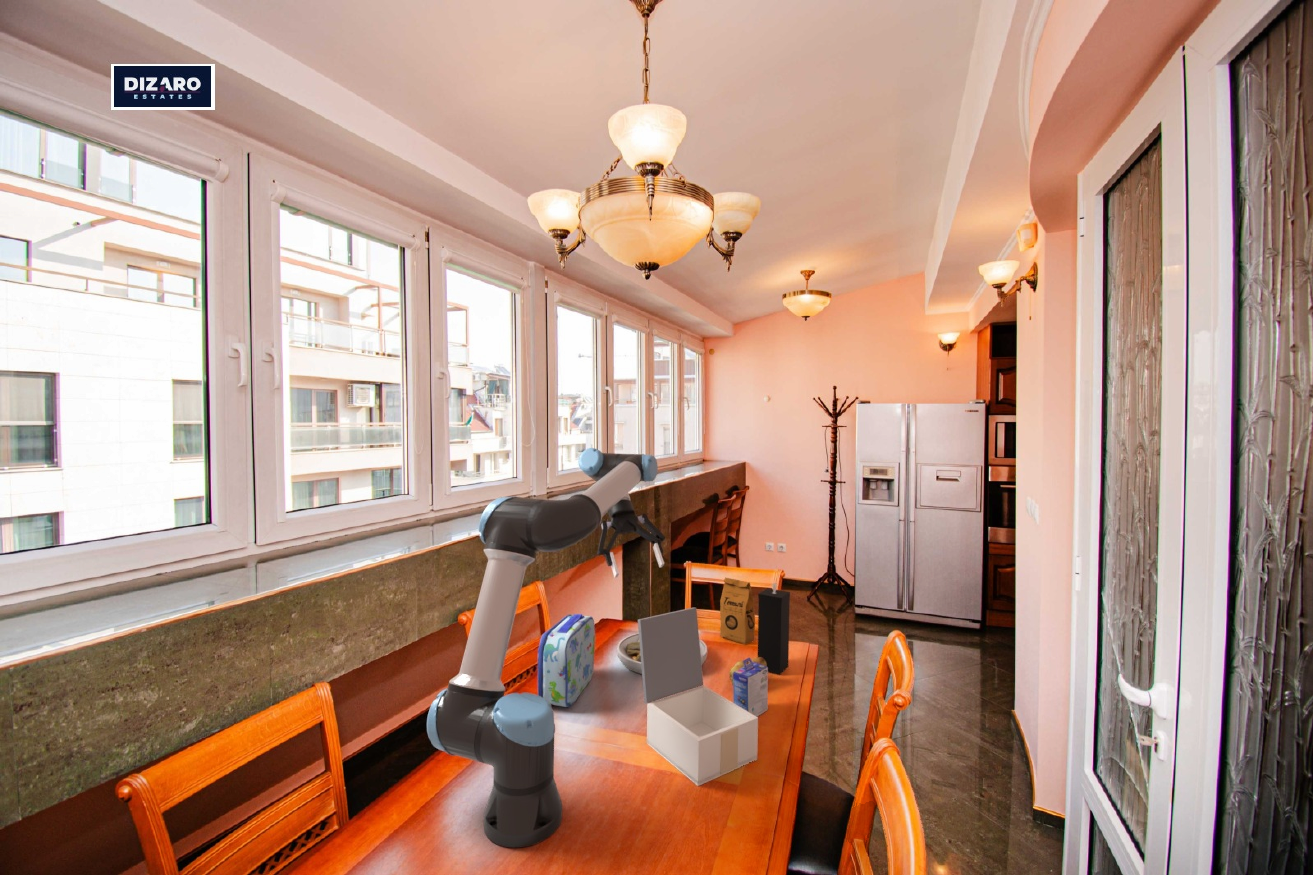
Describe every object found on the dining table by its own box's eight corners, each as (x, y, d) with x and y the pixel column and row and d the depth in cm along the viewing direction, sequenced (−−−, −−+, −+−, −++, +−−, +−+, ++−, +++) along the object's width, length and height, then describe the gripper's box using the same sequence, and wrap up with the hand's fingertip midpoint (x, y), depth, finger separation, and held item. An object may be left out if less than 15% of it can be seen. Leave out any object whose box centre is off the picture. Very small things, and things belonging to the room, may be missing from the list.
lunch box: (565, 671, 183) (566, 605, 182) (598, 674, 180) (599, 608, 180) (532, 710, 157) (532, 635, 157) (569, 715, 155) (570, 638, 154)
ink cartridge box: (751, 703, 163) (752, 652, 163) (768, 710, 159) (769, 658, 159) (731, 715, 156) (732, 663, 156) (748, 723, 152) (749, 669, 152)
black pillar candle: (788, 667, 188) (790, 582, 187) (780, 675, 181) (781, 587, 180) (766, 661, 192) (767, 578, 191) (756, 669, 185) (758, 583, 185)
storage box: (646, 743, 142) (647, 703, 141) (703, 722, 152) (703, 685, 152) (698, 786, 125) (699, 741, 125) (757, 760, 135) (758, 718, 135)
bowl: (598, 662, 190) (598, 639, 190) (657, 637, 213) (657, 616, 213) (668, 691, 171) (668, 664, 170) (724, 660, 193) (725, 637, 193)
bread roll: (748, 698, 166) (748, 670, 166) (719, 688, 172) (720, 661, 172) (769, 682, 176) (769, 657, 176) (741, 673, 182) (742, 648, 182)
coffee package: (744, 647, 204) (745, 586, 203) (715, 638, 212) (716, 579, 212) (759, 640, 211) (760, 580, 211) (731, 631, 219) (732, 574, 219)
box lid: (646, 703, 142) (644, 702, 143) (703, 685, 152) (700, 684, 153) (640, 620, 144) (637, 619, 145) (696, 607, 154) (693, 607, 155)
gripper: (654, 503, 179) (676, 566, 168) (576, 517, 169) (594, 585, 159) (660, 492, 173) (683, 556, 162) (580, 505, 163) (599, 574, 153)
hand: (639, 570), depth 161 cm, fingers open, 13 cm apart
